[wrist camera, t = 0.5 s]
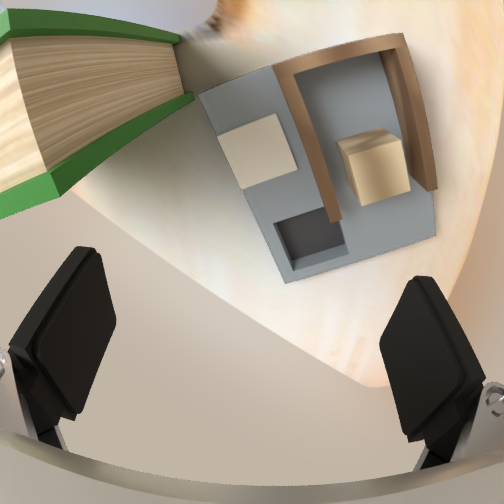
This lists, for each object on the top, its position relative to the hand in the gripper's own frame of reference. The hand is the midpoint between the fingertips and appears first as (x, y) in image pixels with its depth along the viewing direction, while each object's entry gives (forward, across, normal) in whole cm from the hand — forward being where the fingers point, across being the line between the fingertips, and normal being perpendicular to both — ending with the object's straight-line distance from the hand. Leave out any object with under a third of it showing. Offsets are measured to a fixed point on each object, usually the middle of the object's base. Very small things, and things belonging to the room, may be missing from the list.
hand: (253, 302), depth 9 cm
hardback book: (+26, +16, -3) cm, 31 cm away
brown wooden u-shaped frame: (+23, -9, -2) cm, 25 cm away
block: (+23, -11, +1) cm, 26 cm away
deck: (+26, -8, +3) cm, 27 cm away
